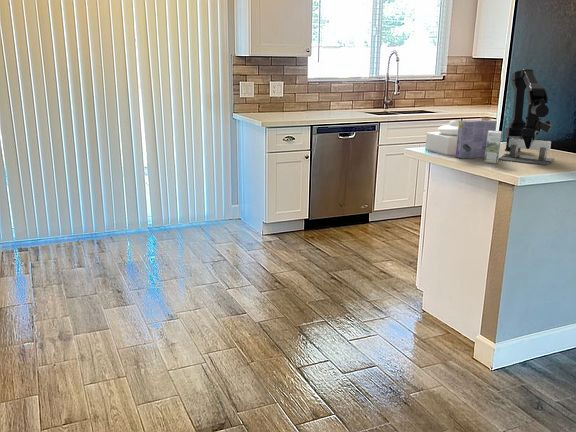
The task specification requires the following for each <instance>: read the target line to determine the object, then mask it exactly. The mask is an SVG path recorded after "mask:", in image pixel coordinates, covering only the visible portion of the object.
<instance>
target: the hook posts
mask: <svg viewBox="0 0 576 432" xmlns="http://www.w3.org/2000/svg"><path fill="white" fill-rule="evenodd" d="M538 152H539V153H538V156H532V155H522V154H518V153H519V151H518V148H516V145H511V148H510V151H509V153H504V154H502V155H501V157H509V158H519V159H528V160H538V161H547V162H551V163H552V162H553V161H554V160H555V158H552V157H547V155H548V151H546V148H542V147H540V150H538Z"/></svg>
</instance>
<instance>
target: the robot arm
mask: <svg viewBox="0 0 576 432" xmlns="http://www.w3.org/2000/svg"><path fill="white" fill-rule="evenodd" d="M510 76H511V77H510V80H511V86H512V87H513V89H514V94H513V106H512V119H510V122H508V127H507V129H506V130H505V133H504V139H506V145H505V149H504V151H506V152H510V148H511V147H508V145H509V139H510V138H518V139H524V142H525V146H526V149H525V150H530V149H529V147H530V144H531V141H532V140H536V137H537V136H538V135H540V133H541V132H542V131H544V132H546V133H549V132H550V131H551V129H552V127H553V124H552V121H550V120H546V121H544V120H542V118H545V117H546V116H547V115H548V114H549V112H550V109H549V107H548V105H546V104H548V101H549V98H548V93H547V90H546V88H545V87H544V86H543V85H541V84H539V82H538V80H537V78H536V76H535V74H534V69H532V68H523V69H521V70H518V71H515V72H513V73H512V74H511V75H510ZM526 89H527V90H526ZM525 90H526V98H527V113H526V116H525V121H524V119H523V115H524V105H525V103H524V102H525ZM521 150H522V148H518V152H520V151H521Z"/></svg>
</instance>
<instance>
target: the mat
mask: <svg viewBox="0 0 576 432" xmlns="http://www.w3.org/2000/svg"><path fill="white" fill-rule="evenodd" d="M501 160H502V162H503V161H504V162H511V161H512V162H513V163H522V164H531V165H539V166H540V165H541V166H549V165H551V164H552V162H547V161H538V160H528V159H519V158H509V157H502V156H499V159H498V161H501Z"/></svg>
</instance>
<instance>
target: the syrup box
mask: <svg viewBox="0 0 576 432" xmlns="http://www.w3.org/2000/svg"><path fill="white" fill-rule="evenodd" d="M502 135H503V131H501V130H495V131H491V130H489V131H488V135H487V144H486V153H485V157H484V161H483V162H484V164H494V165H497V164H498V163H499V160H498V159H499V158H500V149H501V143H502V141H501V140H502Z"/></svg>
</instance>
